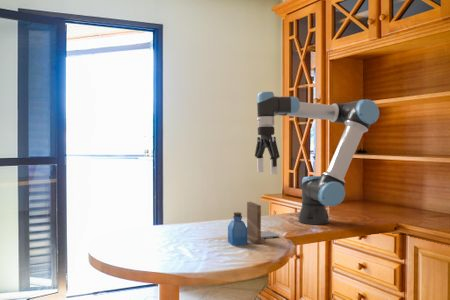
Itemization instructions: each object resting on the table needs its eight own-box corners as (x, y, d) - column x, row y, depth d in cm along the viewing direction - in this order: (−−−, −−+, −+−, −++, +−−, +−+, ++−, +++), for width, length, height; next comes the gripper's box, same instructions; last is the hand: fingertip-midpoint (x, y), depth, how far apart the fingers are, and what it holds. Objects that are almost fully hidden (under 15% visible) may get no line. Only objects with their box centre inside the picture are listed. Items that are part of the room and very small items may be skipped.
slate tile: (269, 232, 175) (269, 230, 175) (278, 237, 166) (279, 235, 166) (250, 234, 172) (250, 232, 172) (259, 239, 163) (259, 237, 163)
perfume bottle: (232, 245, 153) (232, 214, 153) (227, 241, 159) (228, 212, 159) (247, 244, 155) (247, 214, 154) (242, 240, 161) (242, 211, 160)
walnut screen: (253, 236, 168) (253, 201, 168) (265, 243, 157) (265, 205, 156) (242, 237, 166) (242, 201, 166) (253, 244, 155) (254, 206, 155)
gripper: (247, 127, 189) (248, 171, 189) (271, 125, 165) (272, 175, 166) (261, 127, 191) (262, 170, 192) (286, 125, 168) (287, 174, 168)
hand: (266, 173), depth 179 cm, fingers open, 13 cm apart
